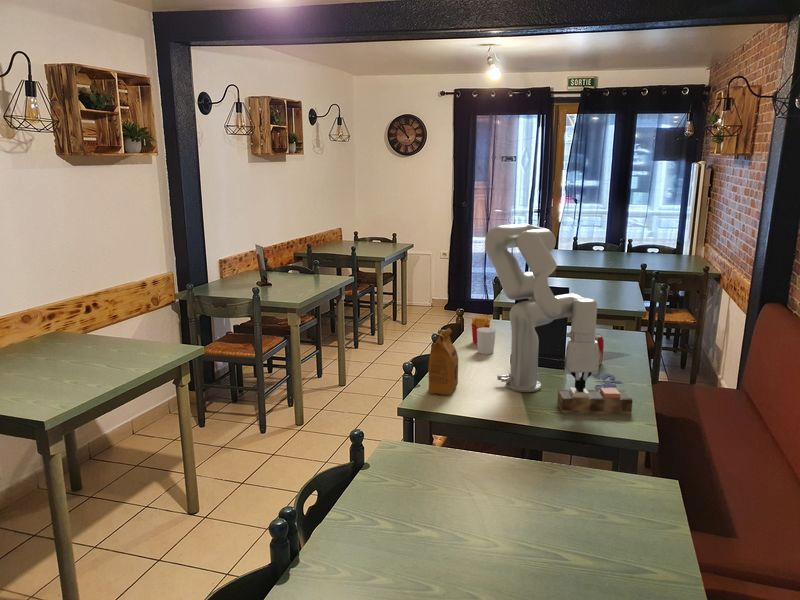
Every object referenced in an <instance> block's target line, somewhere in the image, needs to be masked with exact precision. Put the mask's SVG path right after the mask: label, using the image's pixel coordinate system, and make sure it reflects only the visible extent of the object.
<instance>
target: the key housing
mask: <svg viewBox="0 0 800 600" xmlns="http://www.w3.org/2000/svg"><path fill="white" fill-rule="evenodd" d="M586 390H587V391H588V393H589V398H572V396H571V394H570V389H557V403H556V405H557V406H558V408H559V409H560V411H561V414H576V415H577V414H578V415H579V414H585V415H587V414H589V415H590V414H591V415H605V414H606V415H632V411H633V400H634V399H632V398H631V396H630V395H629V394H628V392H627V391H625V390H618V391H619V393H620V398H603V396H602V395H601V394H600V390H596V389H592V390H591V389H586Z"/></svg>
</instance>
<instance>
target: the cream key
mask: <svg viewBox="0 0 800 600" xmlns="http://www.w3.org/2000/svg"><path fill="white" fill-rule="evenodd" d="M569 390H570V394H571V396H572V398H589V393H588V391H587V390H588V389H586V387H585V389H584V391H583V392H578V391H577V389H576V388H575V386H574V387H571V386H569Z"/></svg>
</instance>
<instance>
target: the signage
mask: <svg viewBox="0 0 800 600" xmlns="http://www.w3.org/2000/svg"><path fill="white" fill-rule="evenodd" d="M599 374H600V373H599V372H598V373H597V374H594V375H593V377H594V379H596V378H598V379H596V380H599V379H600V378H602V379H605V378H606V379H608V378H609V381H605V380H606V379H605V380H604V382H603V383H601V384H602V385H596V384H595V386H594V389H595V388H596V389H595V390H600V388H617V385H616V384H620V383H622V381H621V380H616V377H615V375H614V374H609V373H606V374H603V375H601V376H600V375H599ZM608 376H610V377H608ZM610 380H611V381H610ZM610 382H612V383H610ZM604 383H605V384H604ZM622 384H623V383H622ZM598 386H604V387H598ZM606 386H608V387H606ZM611 386H612V387H611Z"/></svg>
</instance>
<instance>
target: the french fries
mask: <svg viewBox="0 0 800 600" xmlns="http://www.w3.org/2000/svg"><path fill="white" fill-rule="evenodd" d="M471 322H472V323H471V334H472V335H471V337H472V343H473V342H474V343H473V344H475V343H477V329H478V328H484V327H487V328H491V326H490V325H491V324H490V322H491V318H489V317H487V316H475V317H473V316H472V318H471Z"/></svg>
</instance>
